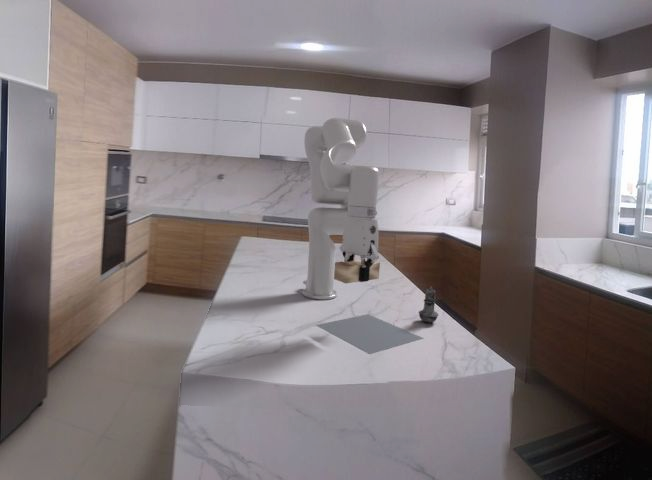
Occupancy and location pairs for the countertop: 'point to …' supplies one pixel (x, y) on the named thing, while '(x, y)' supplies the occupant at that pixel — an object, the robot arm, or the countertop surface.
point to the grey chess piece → (429, 307)
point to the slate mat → (369, 333)
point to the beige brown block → (353, 271)
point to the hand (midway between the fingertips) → (356, 278)
